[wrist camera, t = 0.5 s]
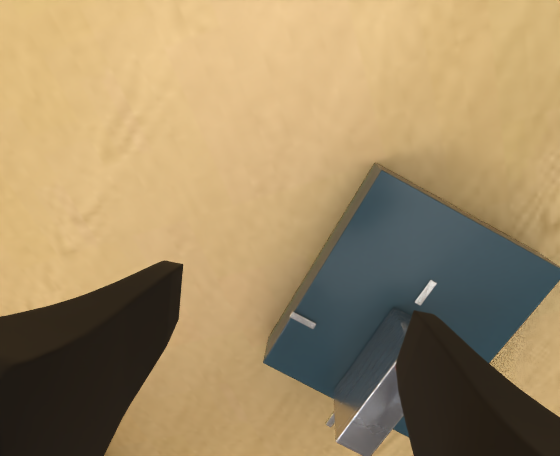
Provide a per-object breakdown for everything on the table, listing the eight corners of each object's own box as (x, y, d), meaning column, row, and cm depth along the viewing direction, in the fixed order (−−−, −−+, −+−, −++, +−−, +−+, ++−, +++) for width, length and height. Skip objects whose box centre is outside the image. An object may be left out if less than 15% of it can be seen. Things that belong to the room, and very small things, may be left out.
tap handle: (361, 405, 22) (369, 463, 18) (332, 391, 22) (335, 446, 18) (424, 322, 20) (446, 368, 17) (393, 305, 20) (409, 349, 17)
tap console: (398, 429, 25) (406, 466, 23) (254, 356, 25) (247, 385, 22) (541, 254, 21) (571, 274, 19) (373, 161, 21) (380, 169, 18)
